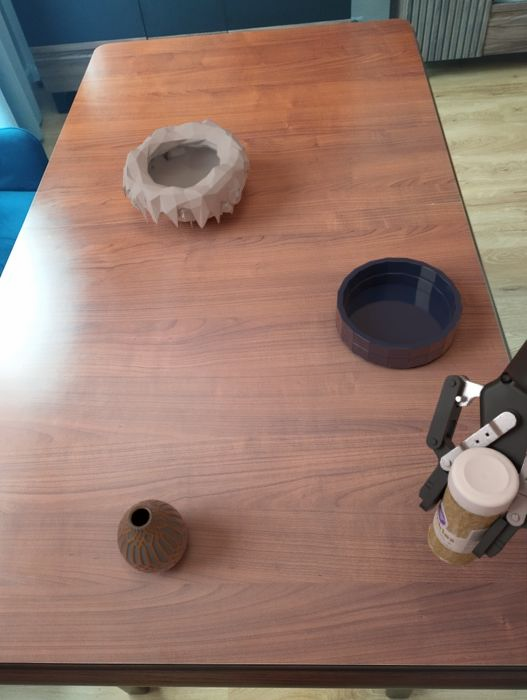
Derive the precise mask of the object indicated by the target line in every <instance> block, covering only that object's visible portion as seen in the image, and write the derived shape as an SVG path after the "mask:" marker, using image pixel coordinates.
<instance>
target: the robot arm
mask: <svg viewBox="0 0 527 700" xmlns="http://www.w3.org/2000/svg"><path fill="white" fill-rule="evenodd" d="M476 398H479V429H478V430H476V431H475V432H474V433H473V434H471V435H470V436H468V437H467V438H465V439H464V440H463V441H461V443H459V444H458V445H457V446H456V445H455V443H454V442H453V439H454V435H455V431H456V428H457V426H458V422H459V420H460V416H461V413H462V410H463V407H467V406H470V405H471V404H472V403H473V402H474V400H475V399H476ZM430 422H431V423H430V426H429V429H428V432H427V435H426V439H425V444H426V446H427V447H428V448H429V449H431V450H432V451H433V452H434V454H435V456H436V458H437V466H436V467H435V468H434V470H433V471H432V472H431V474H430V476H429V477H428V478H427V479H426V481H424V484H423V485H422V486H421V487H420V489H419V493H418V498H420V499H421V502H420V503H419V505H418V506H419V507H420V508H421V509H422V510H423V511H424V512H425V513H428V512H430V511H432V510H433V509H435V507H436V506H438V505H439V503H440V501H441V499H442V497H443V495H444V492H445V490H446V487H447V485H448V475H449V471H450V469H451V466H452V464H453V462H454V460H455V459H456V457H457V456H458V455H459V454H460V453H462V452H463V451H465V450H467V449H470V448H474V447H486V448H490V449H493V450H496V451H498V452H500V453H501V454H503V455H504V456H506V457H507V458H508V459H509V460H510V461H511V462H512V463H513V465H514V466H515V468H516V470H517V473H518V476H519V489H518V492H517V494H516V496H515V498H514V500H513V501H512V503H511V504H510V506H509V507H508V508H507V510H505V511H504V512H503V513H502V514H501V516H500V517H499V518H498V519H497V520H496V522H495V523H494V524H493V525H492V527H491V528H490V529H489V530H488V532H487V533H486V534H485V535H484V537H483V538H482V539H481V540H480V542H479V543H478V544H477V545H476V547H475V548H474V549H473V550H472V553H473V554H474V555H475V556H477V558H478V559H479V560H480V559H481V558H482V557H483V556H484V555H486V557H488V558H489V559H491V558H493V557H495V556H497V555H498V554H499V553H500V552H502V550H503V549H504V548H505V547H506V545H507V544H508V543H509V542H510V541H511V539H512V538H513V537H514V536H515V535H516V533H517V532H518V531H519V530H521V529H526V530H527V339H526V340H525V341H524V342H523V344H522V345H521V346H520V347H519V348H518V350H517V352H516V353H515V355H514V356H513V357H512V359H511V360H510V361H509V363H508V364H507V366H506V367H505V368H504V370H503V371H502V372H501V373H500V375H499V376H498V377H497V378H495V379H494V380H491V381H489V382H487V383H486V384H482V383H480V382H476V381H473V380H470V378H469V377H468V376H467V375H465V374H451V375H448V376H446V378H445V379H444V382H443V384H442V387H441V391H440V394H439V397H438V400H437V404H436V407H435V410H434V413H433V417H432V420H431V421H430Z"/></svg>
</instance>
